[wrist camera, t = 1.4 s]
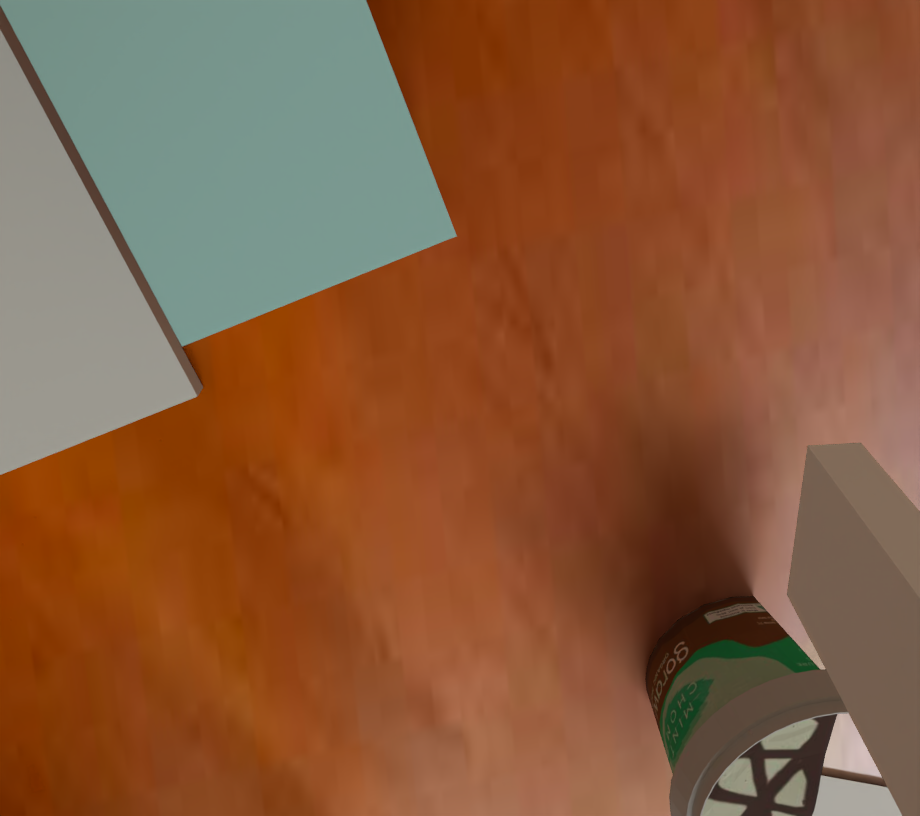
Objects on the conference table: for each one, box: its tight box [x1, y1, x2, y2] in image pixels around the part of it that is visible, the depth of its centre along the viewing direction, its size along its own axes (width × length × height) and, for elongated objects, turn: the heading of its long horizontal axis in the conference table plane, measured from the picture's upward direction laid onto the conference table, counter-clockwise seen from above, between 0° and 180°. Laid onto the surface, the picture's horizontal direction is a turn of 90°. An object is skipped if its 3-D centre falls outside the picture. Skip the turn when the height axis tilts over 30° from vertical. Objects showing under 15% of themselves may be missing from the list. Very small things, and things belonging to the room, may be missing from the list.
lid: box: [0, 0, 456, 346], centre depth 26 cm, size 10×17×2 cm, turn 21°
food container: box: [646, 596, 849, 816], centre depth 41 cm, size 12×6×10 cm, turn 175°
